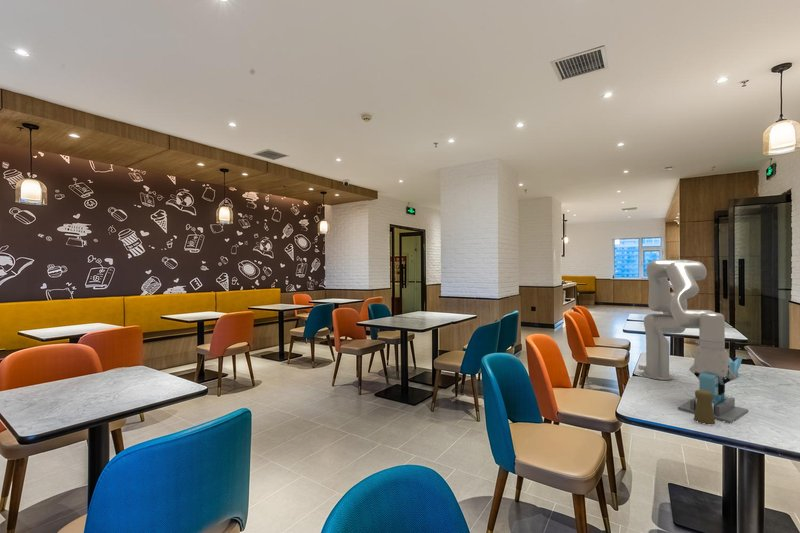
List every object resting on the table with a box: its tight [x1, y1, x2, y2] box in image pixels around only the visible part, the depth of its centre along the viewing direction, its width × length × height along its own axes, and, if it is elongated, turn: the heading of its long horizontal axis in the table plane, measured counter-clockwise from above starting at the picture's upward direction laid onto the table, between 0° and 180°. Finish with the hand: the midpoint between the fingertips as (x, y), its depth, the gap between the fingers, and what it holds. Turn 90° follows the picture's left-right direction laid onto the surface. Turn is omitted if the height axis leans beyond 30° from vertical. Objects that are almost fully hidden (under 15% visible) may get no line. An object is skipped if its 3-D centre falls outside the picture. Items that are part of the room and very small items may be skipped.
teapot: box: [725, 357, 743, 378], centre depth 193 cm, size 15×15×11 cm
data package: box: [699, 372, 725, 407], centre depth 145 cm, size 12×4×12 cm, turn 126°
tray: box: [677, 394, 749, 424], centre depth 145 cm, size 16×19×5 cm
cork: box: [693, 389, 716, 425], centre depth 135 cm, size 6×6×11 cm
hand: (712, 391), depth 145 cm, fingers closed on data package, 4 cm apart
